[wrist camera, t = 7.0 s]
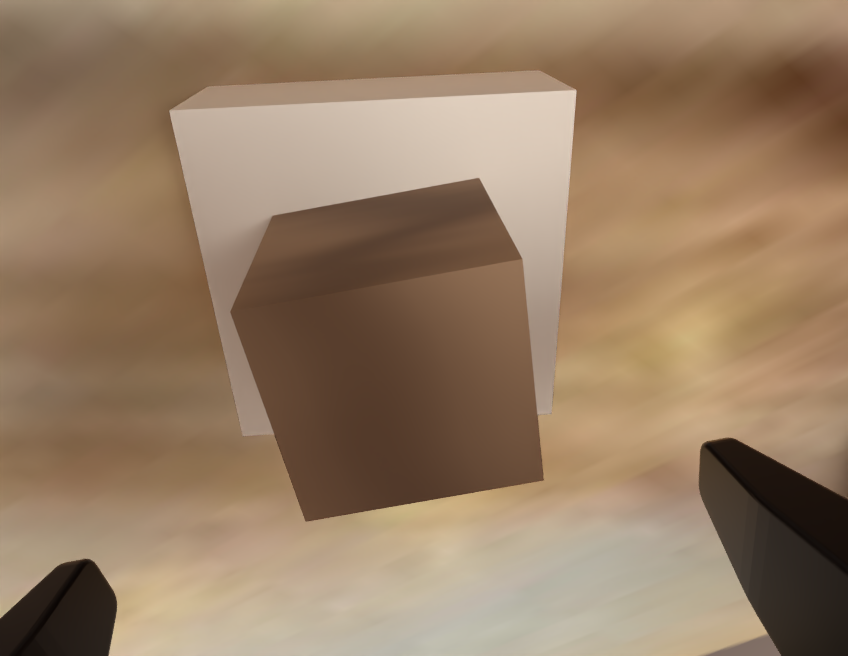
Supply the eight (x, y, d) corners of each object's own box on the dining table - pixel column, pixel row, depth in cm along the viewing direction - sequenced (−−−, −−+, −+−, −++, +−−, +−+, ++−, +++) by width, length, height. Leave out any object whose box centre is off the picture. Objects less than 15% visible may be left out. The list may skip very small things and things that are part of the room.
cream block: (536, 68, 18) (576, 90, 14) (523, 345, 22) (551, 414, 18) (211, 84, 17) (169, 110, 14) (264, 362, 22) (242, 436, 18)
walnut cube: (478, 177, 15) (522, 259, 10) (500, 354, 17) (543, 480, 13) (272, 215, 15) (229, 311, 11) (323, 386, 17) (305, 521, 13)
